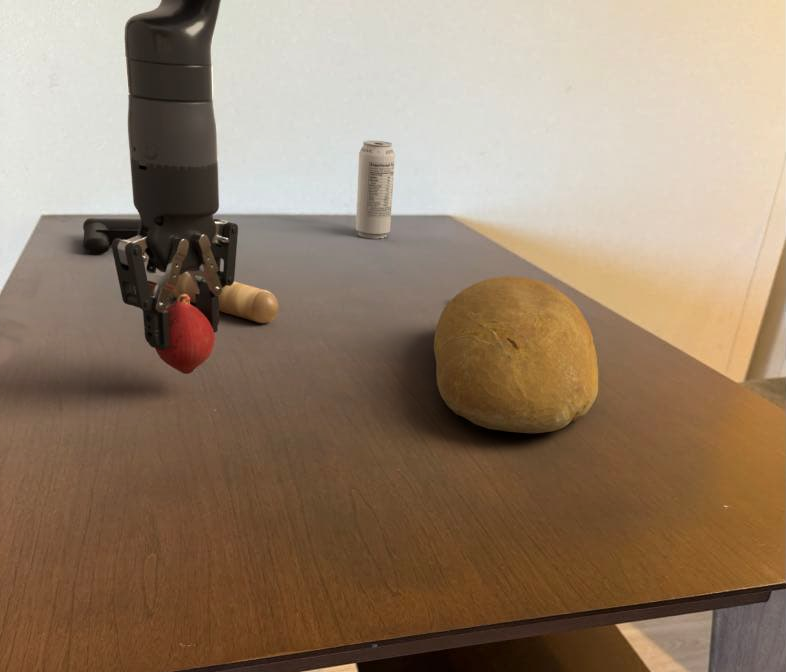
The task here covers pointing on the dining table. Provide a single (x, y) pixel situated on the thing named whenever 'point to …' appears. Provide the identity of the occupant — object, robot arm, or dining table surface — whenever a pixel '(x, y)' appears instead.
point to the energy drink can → (375, 189)
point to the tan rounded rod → (235, 299)
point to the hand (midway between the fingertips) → (183, 338)
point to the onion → (187, 336)
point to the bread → (515, 356)
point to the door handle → (108, 232)
